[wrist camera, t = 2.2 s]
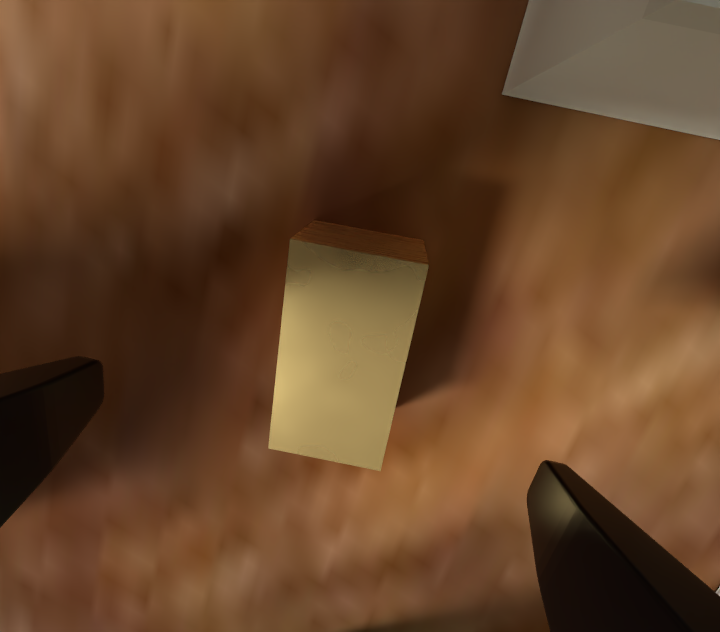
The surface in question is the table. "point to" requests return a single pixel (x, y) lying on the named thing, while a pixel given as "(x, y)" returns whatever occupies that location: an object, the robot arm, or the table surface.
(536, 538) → the robot arm
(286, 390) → the rectangular block
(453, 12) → the table surface
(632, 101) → the coin box
